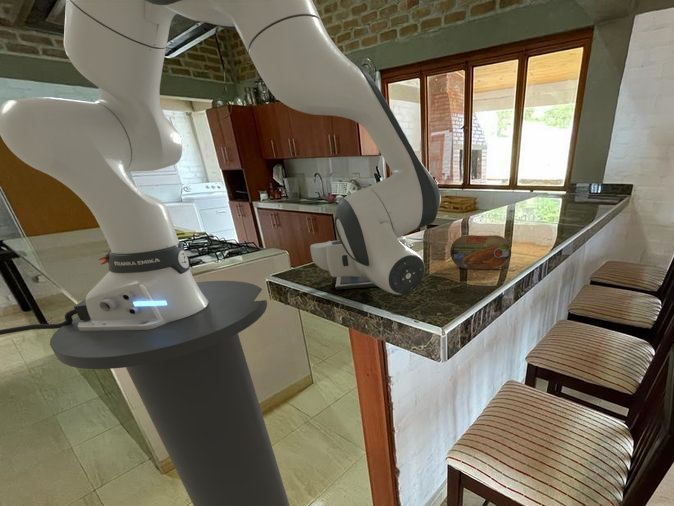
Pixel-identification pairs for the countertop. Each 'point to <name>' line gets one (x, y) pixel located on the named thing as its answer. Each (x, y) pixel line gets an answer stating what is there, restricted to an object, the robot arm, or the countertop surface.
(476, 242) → the tin
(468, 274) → the countertop surface
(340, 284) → the tablet
